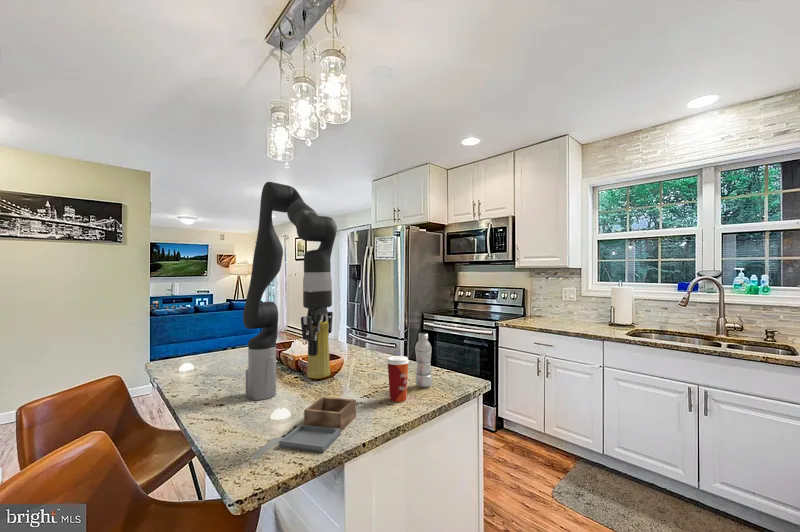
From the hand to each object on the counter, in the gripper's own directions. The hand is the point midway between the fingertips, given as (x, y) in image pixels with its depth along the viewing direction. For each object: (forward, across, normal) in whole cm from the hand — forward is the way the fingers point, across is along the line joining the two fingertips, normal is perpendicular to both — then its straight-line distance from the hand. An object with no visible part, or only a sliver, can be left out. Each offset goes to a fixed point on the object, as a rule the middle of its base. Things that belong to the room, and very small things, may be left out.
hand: (318, 352), depth 92 cm
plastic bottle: (+22, -46, +20) cm, 55 cm away
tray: (+22, +3, -1) cm, 22 cm away
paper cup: (+22, -31, +14) cm, 41 cm away
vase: (+6, 0, 0) cm, 6 cm away
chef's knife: (+22, +6, -10) cm, 25 cm away
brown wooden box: (+22, -9, -1) cm, 24 cm away
